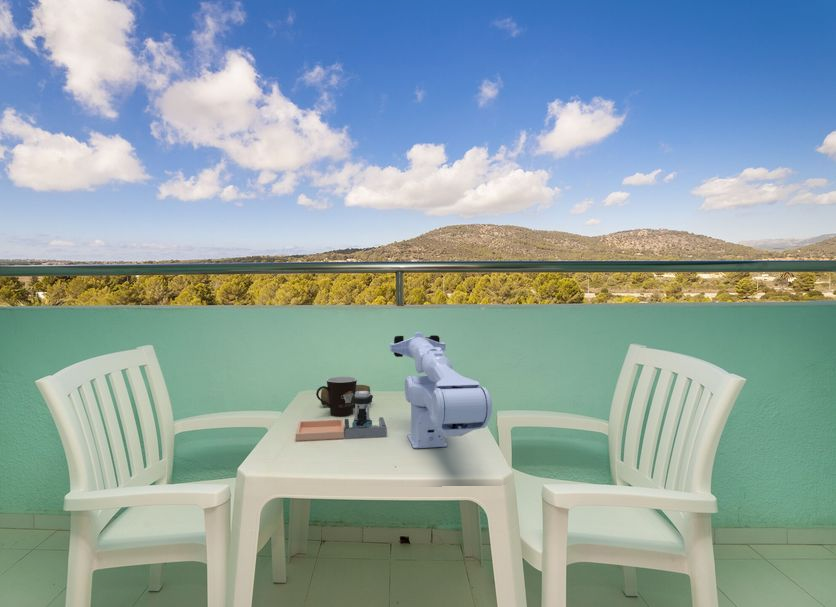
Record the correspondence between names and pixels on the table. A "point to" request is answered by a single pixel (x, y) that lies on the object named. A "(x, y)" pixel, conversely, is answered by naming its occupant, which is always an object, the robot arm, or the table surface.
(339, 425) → the tray
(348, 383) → the coffee mug
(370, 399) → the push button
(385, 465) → the table surface
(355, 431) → the bracket
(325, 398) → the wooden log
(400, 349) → the robot arm
